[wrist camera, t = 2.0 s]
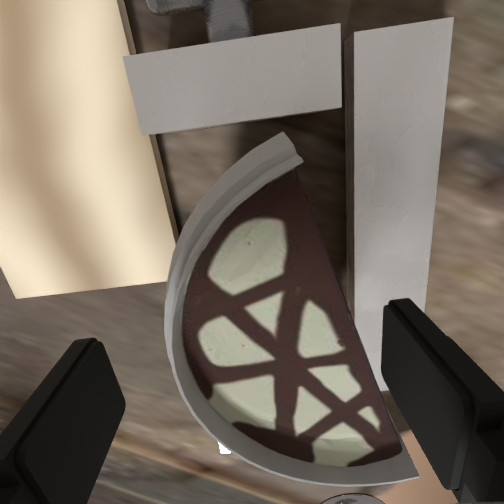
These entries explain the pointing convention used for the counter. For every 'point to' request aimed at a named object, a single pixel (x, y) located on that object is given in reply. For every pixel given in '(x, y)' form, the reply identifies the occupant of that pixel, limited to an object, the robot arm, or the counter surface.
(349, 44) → the vise
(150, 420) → the counter surface
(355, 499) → the wine glass
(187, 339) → the food container
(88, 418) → the robot arm
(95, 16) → the light wood flat board
